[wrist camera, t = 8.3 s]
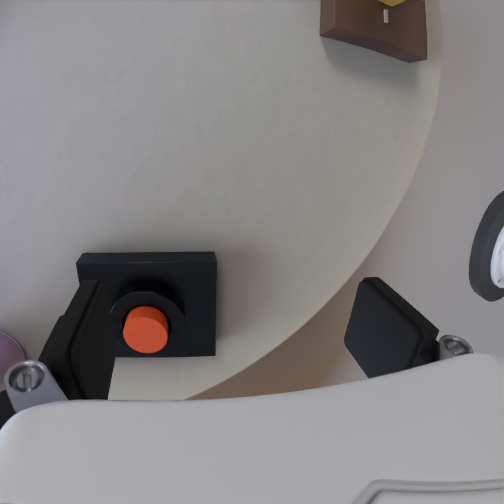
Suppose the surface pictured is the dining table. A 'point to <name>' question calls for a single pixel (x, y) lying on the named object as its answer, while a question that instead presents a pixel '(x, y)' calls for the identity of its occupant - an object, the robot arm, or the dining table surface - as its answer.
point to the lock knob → (392, 2)
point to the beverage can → (8, 355)
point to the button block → (160, 296)
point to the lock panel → (378, 26)
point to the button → (146, 329)
